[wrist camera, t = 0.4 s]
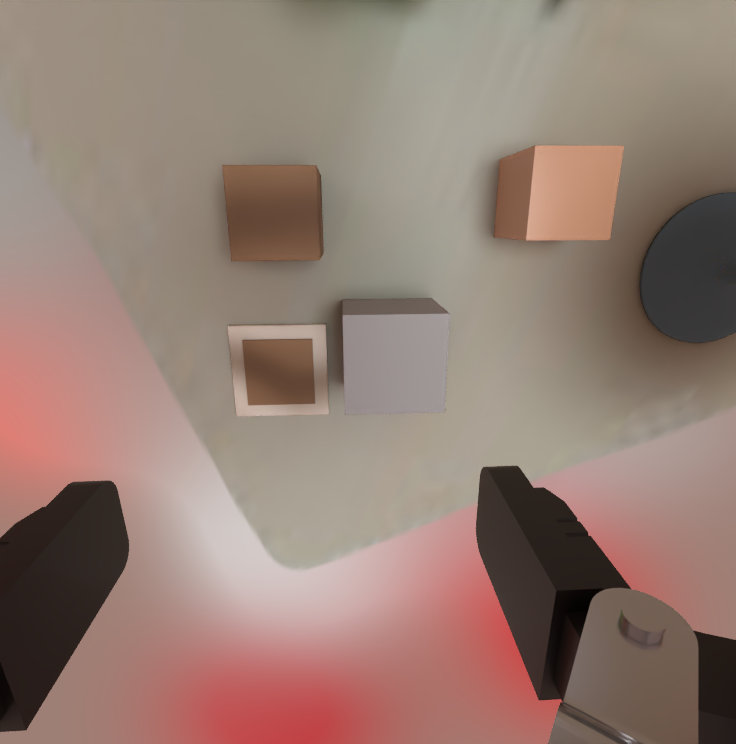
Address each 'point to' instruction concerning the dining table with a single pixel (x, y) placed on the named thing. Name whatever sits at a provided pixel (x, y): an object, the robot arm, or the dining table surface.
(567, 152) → the terracotta block
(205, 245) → the dining table surface
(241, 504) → the dining table surface
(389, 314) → the grey block
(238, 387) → the tile
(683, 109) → the dining table surface
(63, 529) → the robot arm
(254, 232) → the walnut block
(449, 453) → the dining table surface
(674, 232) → the cocktail glass
